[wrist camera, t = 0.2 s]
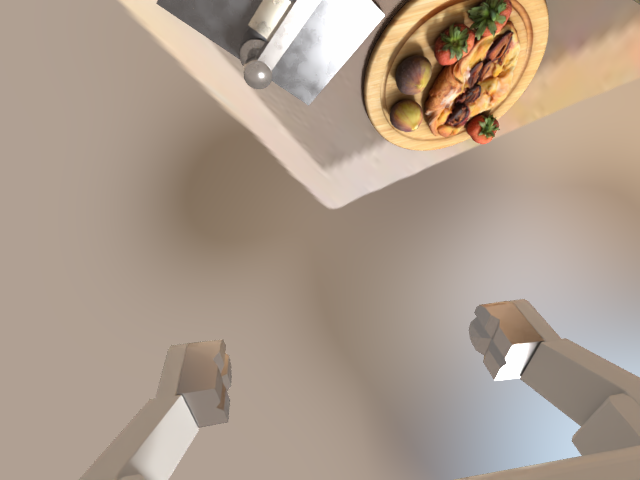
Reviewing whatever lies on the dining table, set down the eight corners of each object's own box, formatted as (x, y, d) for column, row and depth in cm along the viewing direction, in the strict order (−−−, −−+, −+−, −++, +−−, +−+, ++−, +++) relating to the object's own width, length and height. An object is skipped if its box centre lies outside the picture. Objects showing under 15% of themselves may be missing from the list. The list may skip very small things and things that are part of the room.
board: (221, -161, 35) (220, -153, 32) (382, 10, 51) (391, 26, 48) (156, 1, 46) (151, 19, 43) (305, 102, 61) (309, 120, 58)
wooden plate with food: (536, 101, 69) (559, 125, 64) (389, 166, 78) (399, 192, 73) (552, -92, 45) (591, -76, 40) (334, 35, 53) (344, 61, 48)
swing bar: (261, 87, 52) (262, 94, 51) (238, 72, 49) (238, 79, 48) (358, -51, 40) (362, -45, 39) (333, -79, 37) (336, -74, 36)
